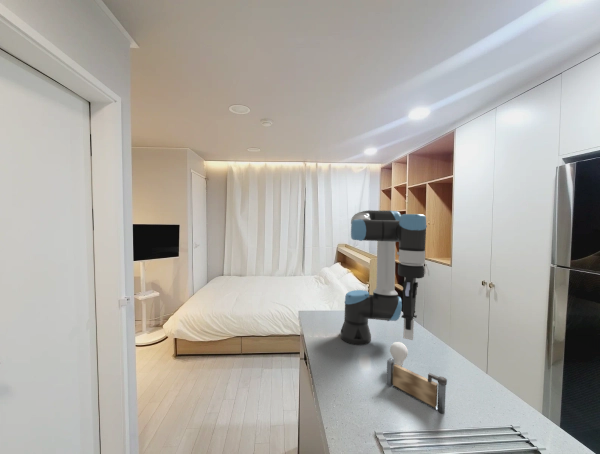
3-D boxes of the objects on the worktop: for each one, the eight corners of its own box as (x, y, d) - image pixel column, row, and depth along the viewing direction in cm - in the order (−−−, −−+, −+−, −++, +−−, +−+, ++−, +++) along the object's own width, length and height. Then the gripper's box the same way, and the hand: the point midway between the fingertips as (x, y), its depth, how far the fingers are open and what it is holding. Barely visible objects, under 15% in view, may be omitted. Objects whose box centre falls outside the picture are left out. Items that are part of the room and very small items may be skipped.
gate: (392, 385, 88) (393, 358, 88) (395, 382, 90) (396, 356, 90) (443, 413, 76) (445, 382, 76) (446, 409, 77) (447, 379, 77)
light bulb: (406, 367, 101) (407, 340, 101) (407, 376, 95) (409, 348, 94) (389, 363, 103) (390, 337, 103) (389, 372, 97) (390, 345, 97)
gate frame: (386, 384, 90) (387, 360, 89) (390, 381, 92) (391, 357, 91) (443, 415, 76) (444, 386, 76) (446, 410, 78) (447, 382, 78)
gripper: (402, 259, 85) (399, 328, 86) (394, 265, 74) (391, 343, 74) (426, 262, 81) (423, 333, 82) (422, 268, 70) (418, 350, 71)
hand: (408, 338), depth 78 cm, fingers closed
